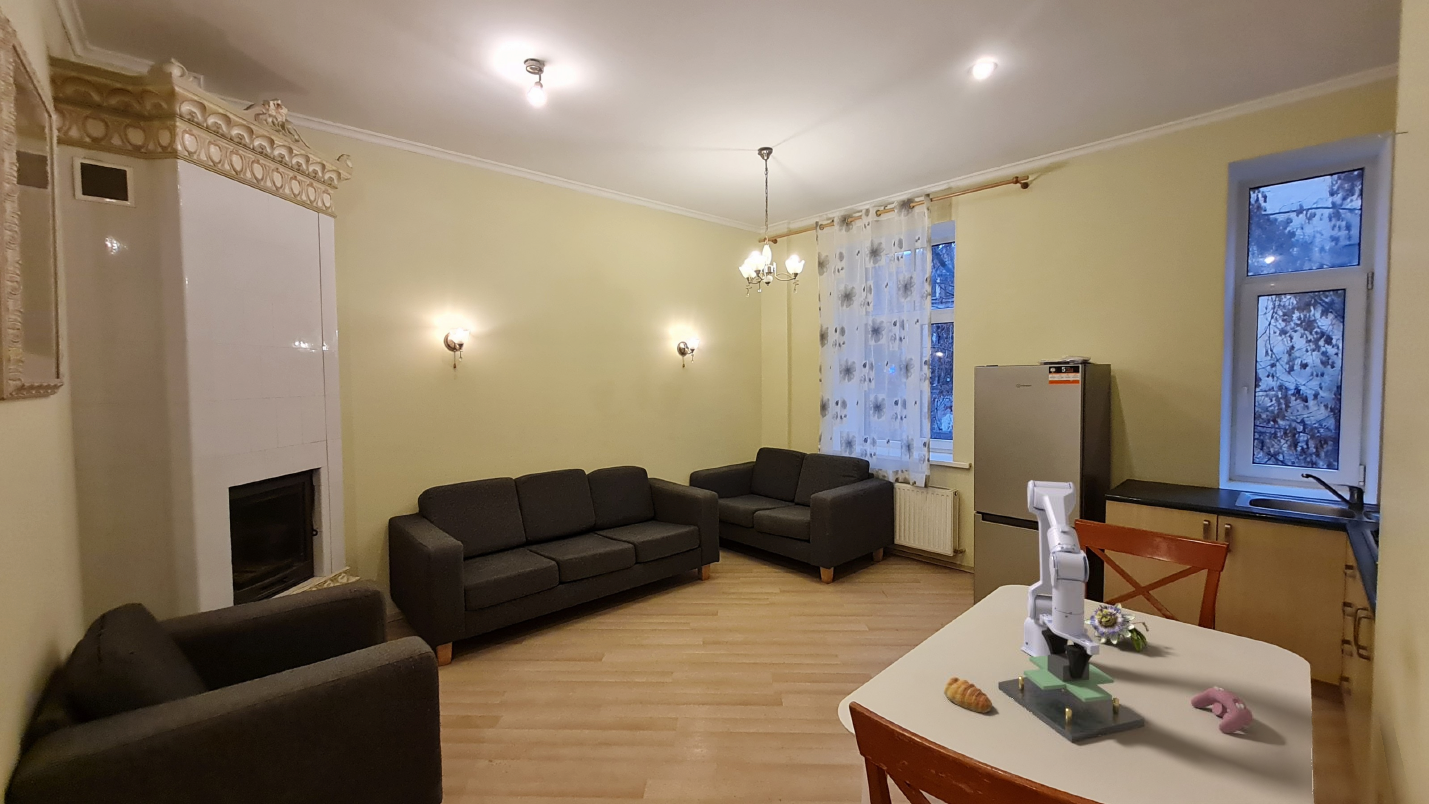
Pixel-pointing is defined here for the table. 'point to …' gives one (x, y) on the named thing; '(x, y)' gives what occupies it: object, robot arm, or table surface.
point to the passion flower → (1115, 625)
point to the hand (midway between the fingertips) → (1067, 671)
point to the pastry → (967, 695)
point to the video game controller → (1224, 708)
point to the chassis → (1071, 710)
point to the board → (1073, 687)
